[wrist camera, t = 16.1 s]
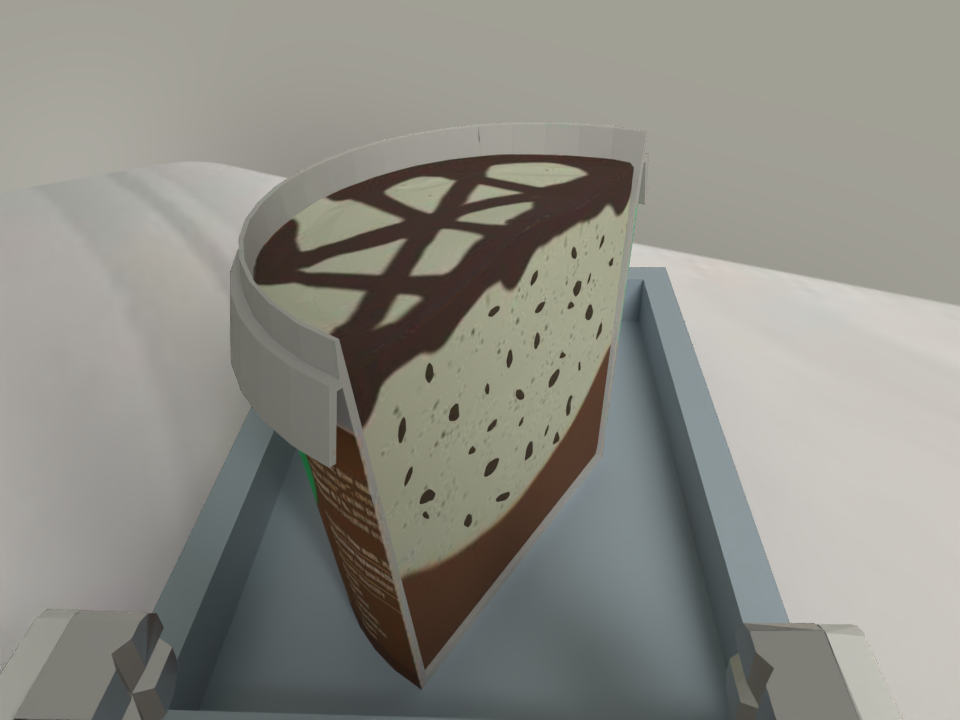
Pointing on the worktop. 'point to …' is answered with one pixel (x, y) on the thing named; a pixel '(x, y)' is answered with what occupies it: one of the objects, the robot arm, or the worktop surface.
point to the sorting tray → (524, 596)
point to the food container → (440, 353)
